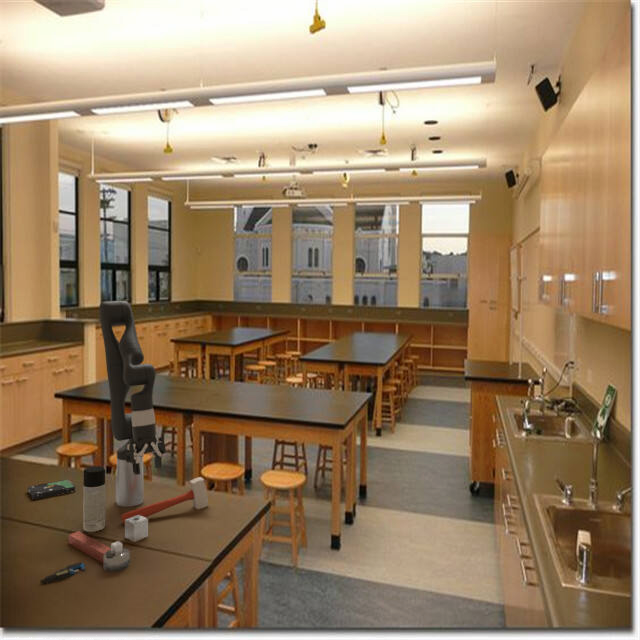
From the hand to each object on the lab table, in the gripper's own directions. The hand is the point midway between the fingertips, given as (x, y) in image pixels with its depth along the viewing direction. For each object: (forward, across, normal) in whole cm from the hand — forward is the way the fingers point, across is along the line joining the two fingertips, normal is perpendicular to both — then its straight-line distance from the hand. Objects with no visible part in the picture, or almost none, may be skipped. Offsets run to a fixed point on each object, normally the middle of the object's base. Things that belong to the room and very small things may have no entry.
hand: (147, 471), depth 183 cm
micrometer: (+20, +36, +7) cm, 41 cm away
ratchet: (+19, +23, +4) cm, 30 cm away
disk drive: (+10, +5, -53) cm, 55 cm away
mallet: (+18, -8, -2) cm, 20 cm away
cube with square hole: (+18, +9, +4) cm, 21 cm away
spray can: (+16, +14, -12) cm, 24 cm away
